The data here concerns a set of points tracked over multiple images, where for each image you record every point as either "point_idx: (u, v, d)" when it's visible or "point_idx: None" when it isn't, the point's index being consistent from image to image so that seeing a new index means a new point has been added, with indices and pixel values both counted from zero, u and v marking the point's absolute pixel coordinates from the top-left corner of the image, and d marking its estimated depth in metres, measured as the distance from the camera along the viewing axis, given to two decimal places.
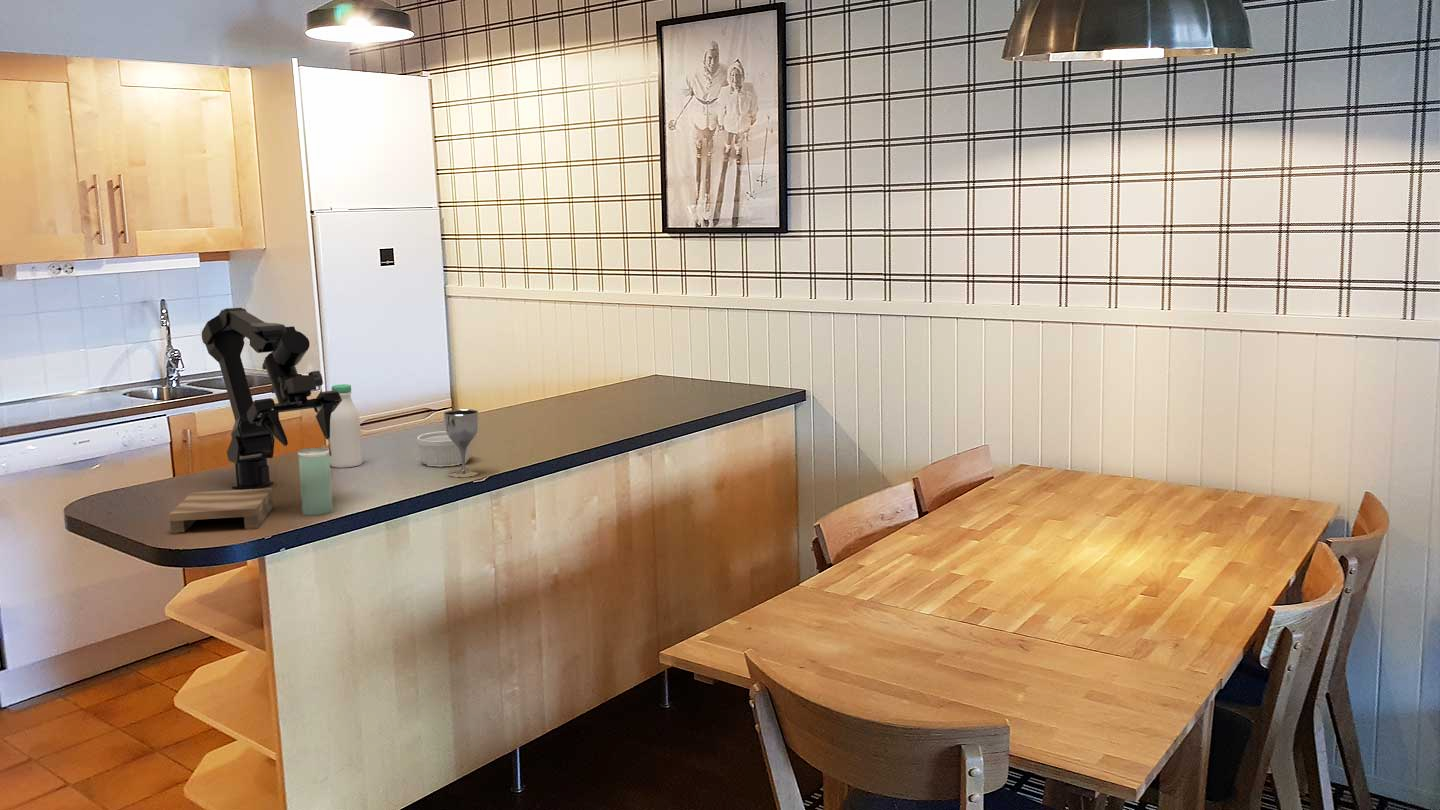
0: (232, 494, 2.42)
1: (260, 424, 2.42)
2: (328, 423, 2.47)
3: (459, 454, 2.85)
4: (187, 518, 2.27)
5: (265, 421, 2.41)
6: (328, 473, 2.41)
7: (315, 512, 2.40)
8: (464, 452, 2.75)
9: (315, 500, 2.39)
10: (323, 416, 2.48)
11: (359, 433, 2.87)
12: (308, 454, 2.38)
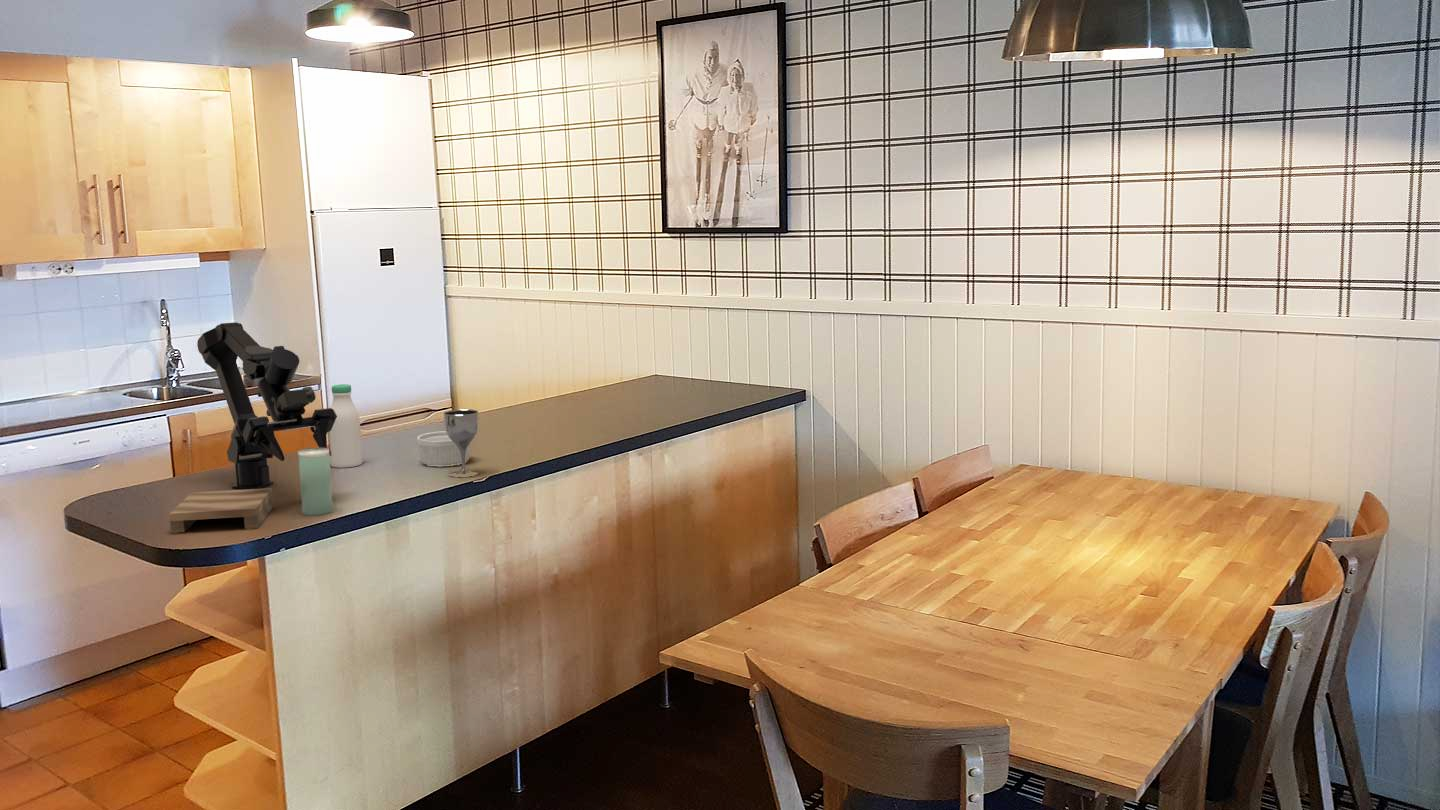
0: (232, 494, 2.42)
1: (256, 443, 2.43)
2: (324, 438, 2.48)
3: (459, 454, 2.85)
4: (187, 518, 2.27)
5: (261, 440, 2.43)
6: (328, 473, 2.41)
7: (315, 512, 2.40)
8: (464, 452, 2.75)
9: (315, 500, 2.39)
10: (319, 432, 2.49)
11: (359, 433, 2.87)
12: (308, 454, 2.38)
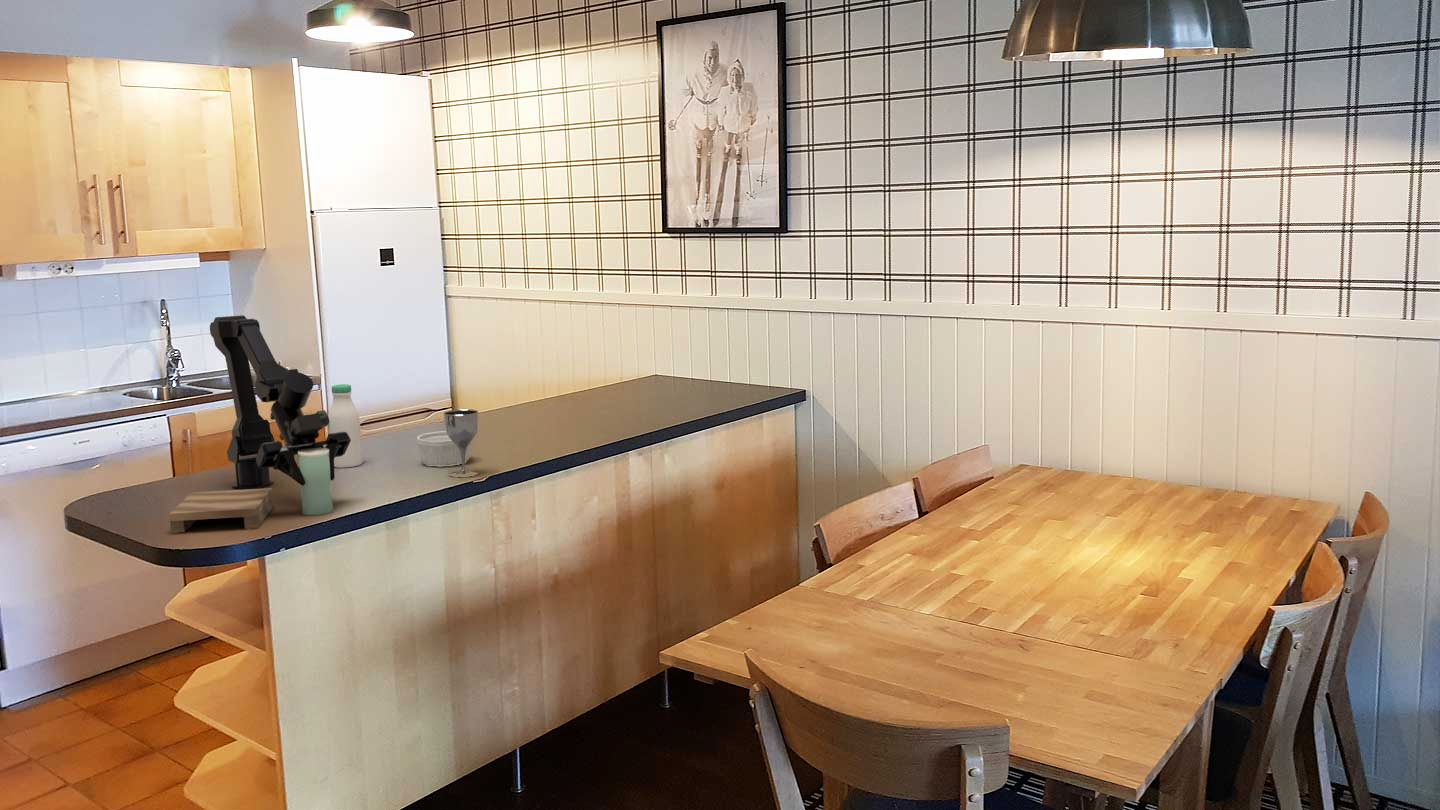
0: (232, 494, 2.42)
1: (276, 467, 2.40)
2: (332, 464, 2.44)
3: (459, 454, 2.85)
4: (187, 518, 2.27)
5: (281, 463, 2.40)
6: (328, 473, 2.41)
7: (315, 512, 2.40)
8: (464, 452, 2.75)
9: (315, 500, 2.39)
10: None
11: (359, 433, 2.87)
12: (308, 454, 2.38)
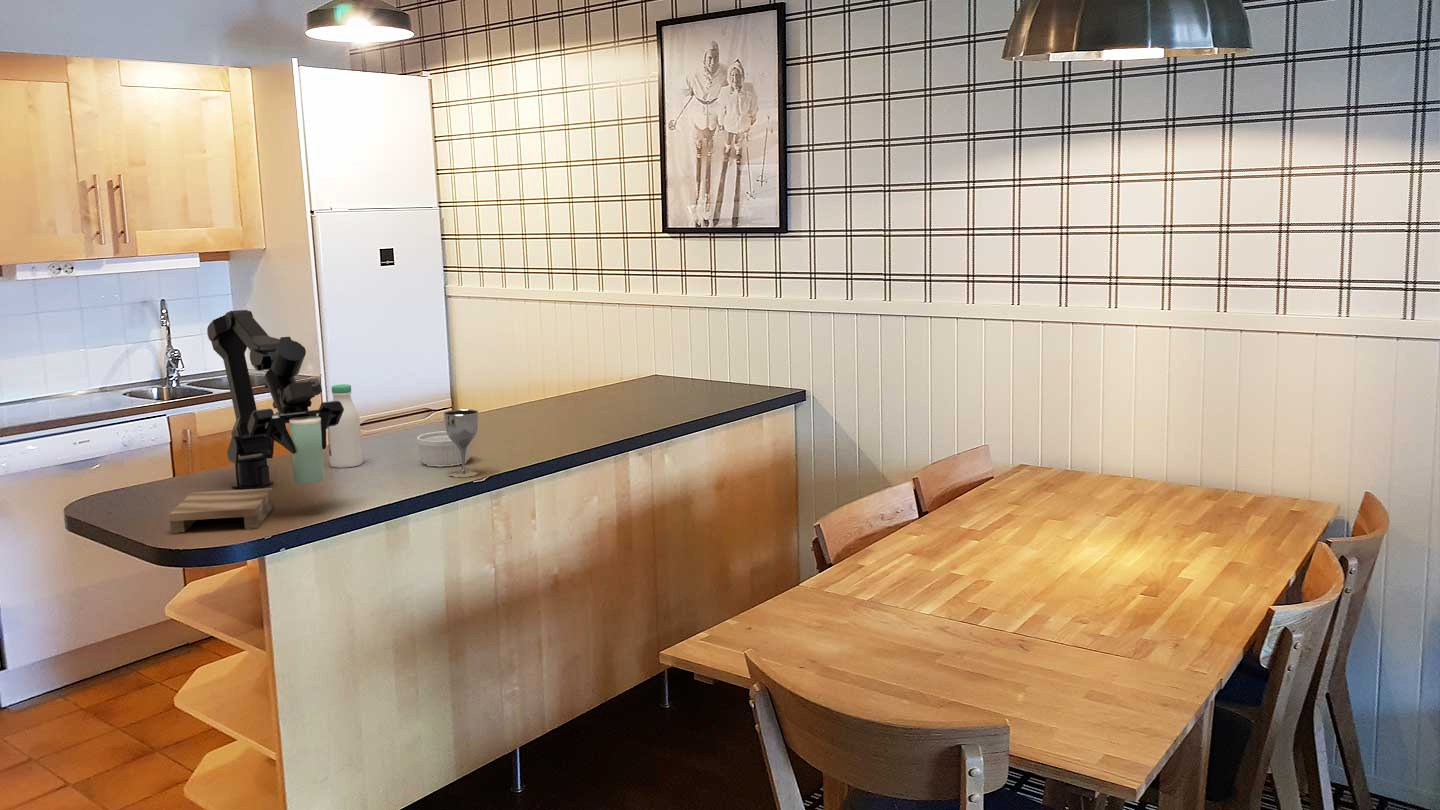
0: (232, 494, 2.42)
1: (268, 435, 2.39)
2: (324, 433, 2.42)
3: (459, 454, 2.85)
4: (187, 518, 2.27)
5: (273, 431, 2.38)
6: (319, 441, 2.39)
7: (306, 480, 2.38)
8: (464, 452, 2.75)
9: (306, 469, 2.37)
10: None
11: (359, 433, 2.87)
12: (299, 422, 2.36)
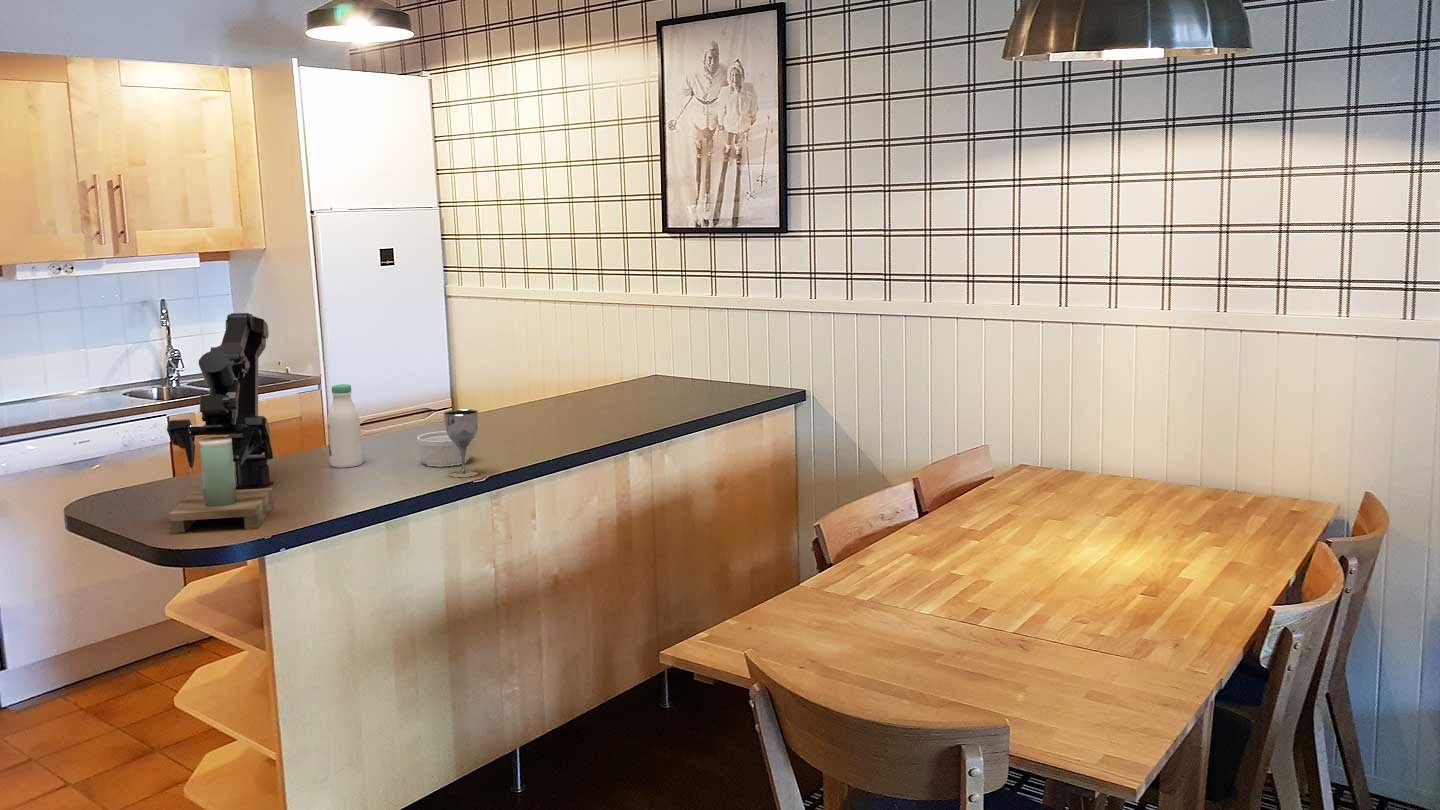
0: None
1: (182, 446, 2.36)
2: (243, 448, 2.34)
3: (459, 454, 2.85)
4: (187, 518, 2.27)
5: None
6: (224, 464, 2.31)
7: (209, 503, 2.32)
8: (464, 452, 2.75)
9: (209, 491, 2.31)
10: None
11: (359, 433, 2.87)
12: (201, 443, 2.30)
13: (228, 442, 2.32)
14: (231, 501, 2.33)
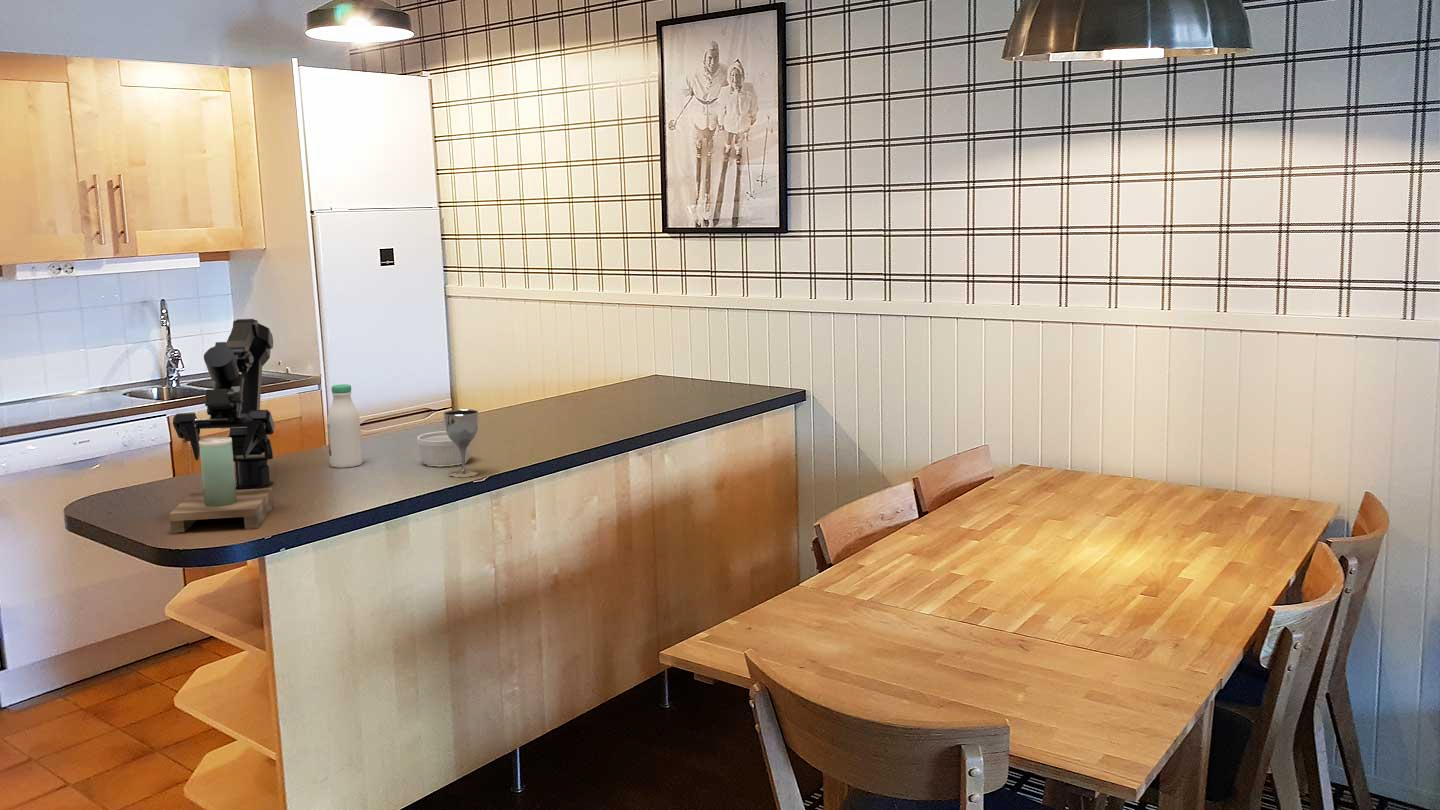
0: None
1: (187, 439, 2.40)
2: (248, 441, 2.38)
3: (459, 454, 2.85)
4: (187, 518, 2.27)
5: None
6: (224, 464, 2.31)
7: (209, 503, 2.32)
8: (464, 452, 2.75)
9: (209, 491, 2.31)
10: None
11: (359, 433, 2.87)
12: (201, 443, 2.30)
13: (228, 442, 2.32)
14: (231, 501, 2.33)
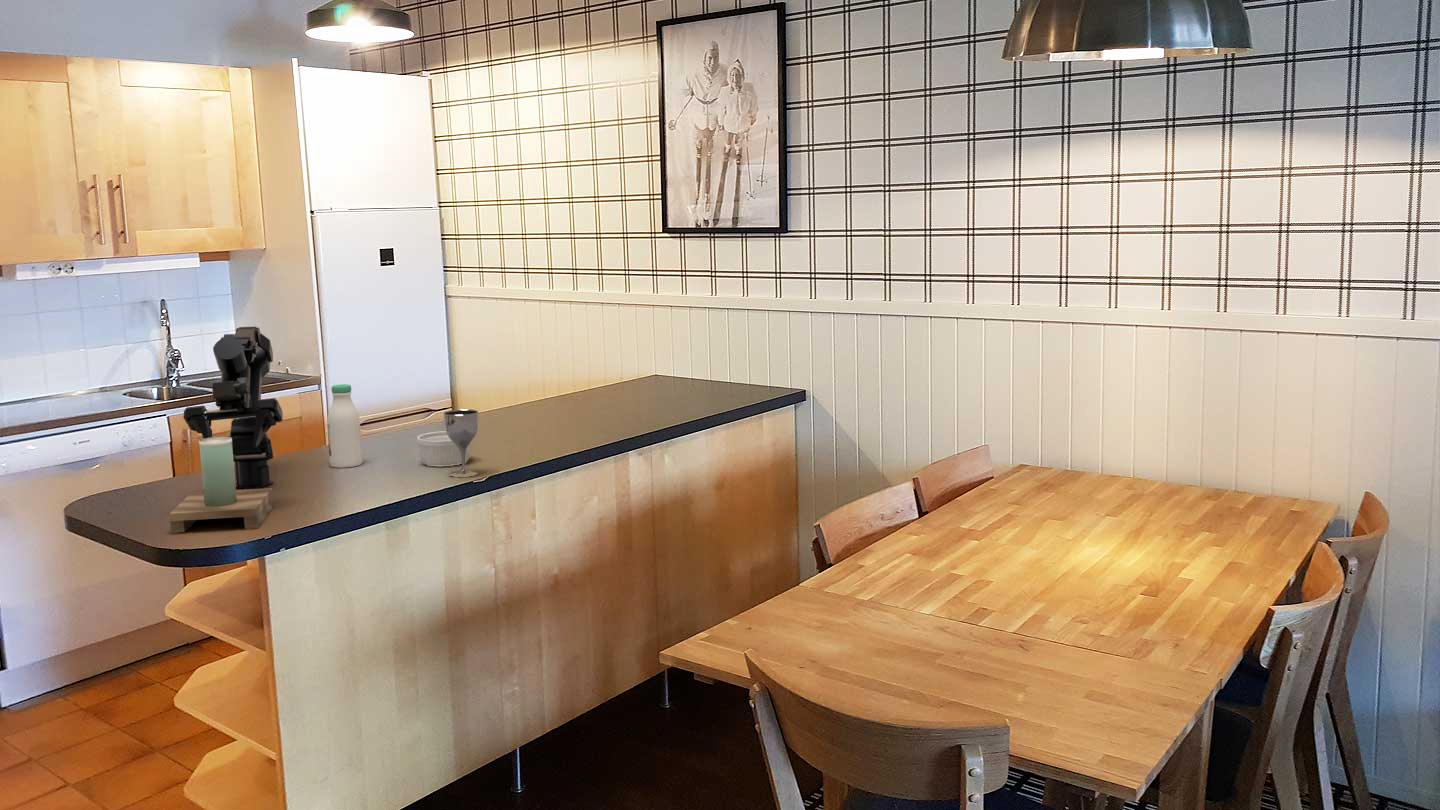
0: None
1: (199, 431, 2.46)
2: (257, 430, 2.43)
3: (459, 454, 2.85)
4: (187, 518, 2.27)
5: None
6: (224, 464, 2.31)
7: (209, 503, 2.32)
8: (464, 452, 2.75)
9: (209, 491, 2.31)
10: None
11: (359, 433, 2.87)
12: (202, 443, 2.30)
13: (228, 442, 2.32)
14: (231, 501, 2.33)
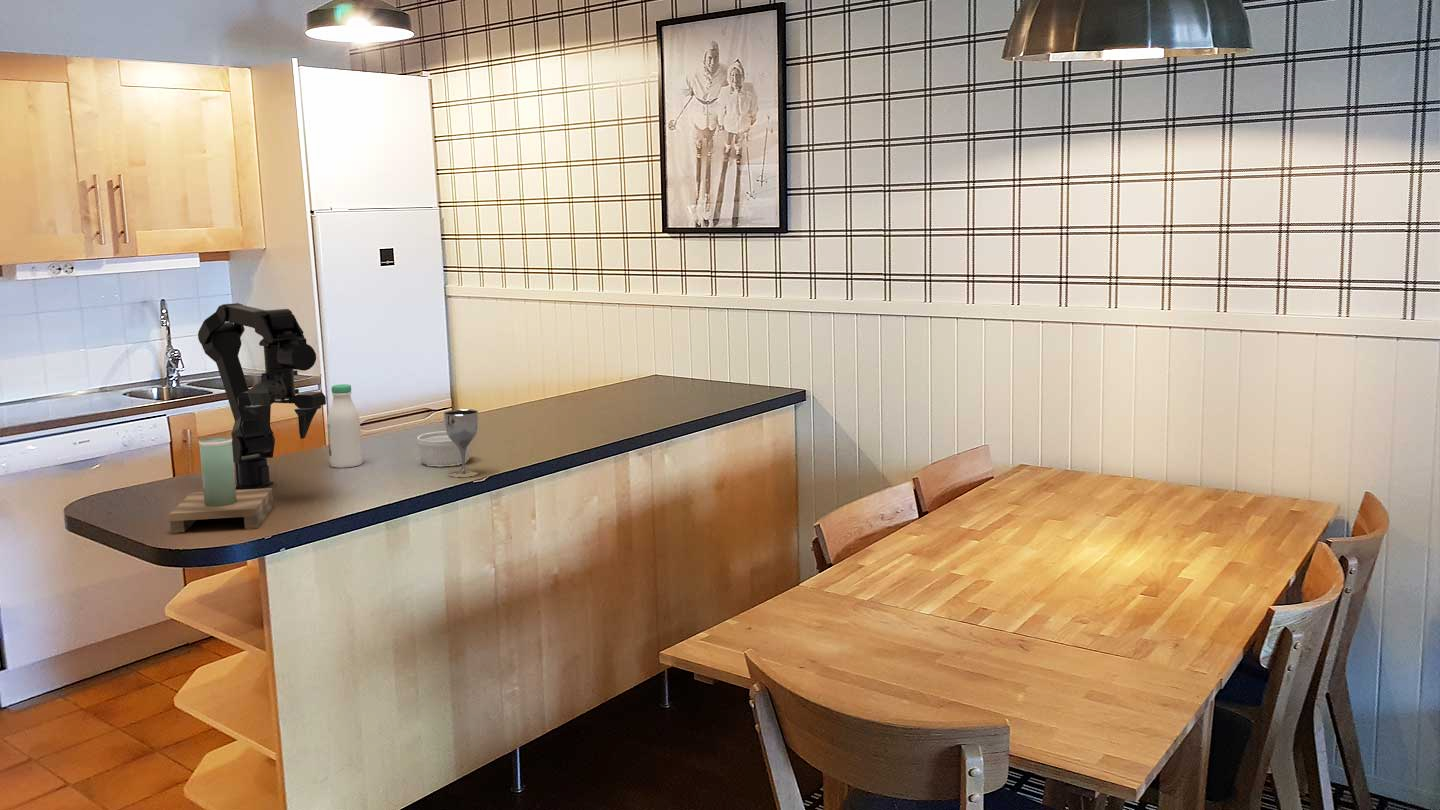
0: None
1: None
2: (301, 426, 2.52)
3: (459, 454, 2.85)
4: (187, 518, 2.27)
5: None
6: (224, 464, 2.31)
7: (209, 503, 2.32)
8: (464, 452, 2.75)
9: (209, 491, 2.31)
10: None
11: (359, 433, 2.87)
12: (202, 443, 2.30)
13: (228, 442, 2.32)
14: (231, 501, 2.33)
